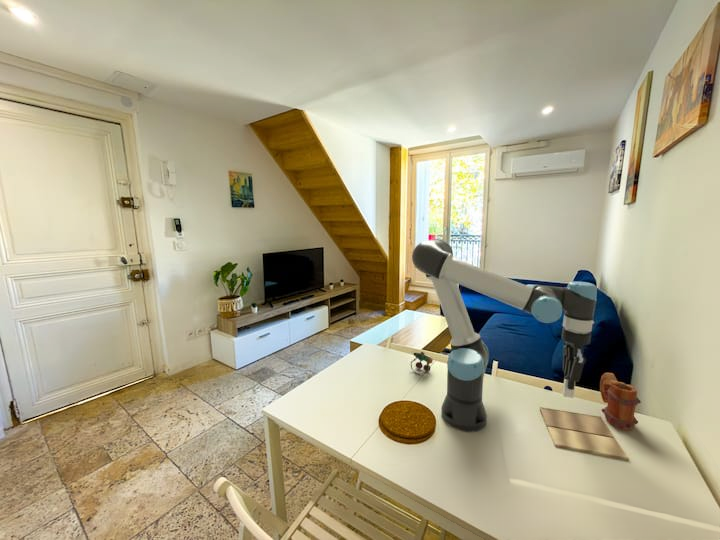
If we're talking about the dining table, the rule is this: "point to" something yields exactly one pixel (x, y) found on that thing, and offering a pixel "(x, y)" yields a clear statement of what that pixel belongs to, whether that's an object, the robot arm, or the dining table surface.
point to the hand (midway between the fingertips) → (567, 395)
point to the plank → (575, 422)
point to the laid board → (587, 443)
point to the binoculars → (421, 358)
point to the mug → (618, 402)
